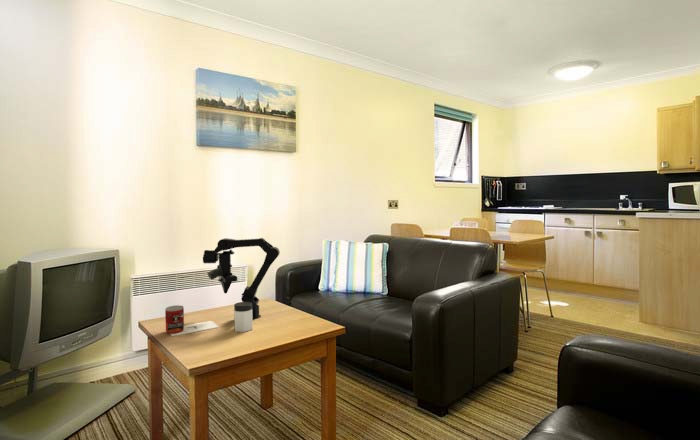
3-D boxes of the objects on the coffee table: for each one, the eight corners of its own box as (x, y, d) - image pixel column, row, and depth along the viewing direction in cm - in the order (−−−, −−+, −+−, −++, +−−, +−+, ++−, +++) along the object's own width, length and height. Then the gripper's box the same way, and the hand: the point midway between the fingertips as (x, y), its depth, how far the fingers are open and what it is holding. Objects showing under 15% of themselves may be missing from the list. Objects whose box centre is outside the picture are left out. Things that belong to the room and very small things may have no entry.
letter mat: (211, 321, 193) (211, 320, 193) (219, 327, 183) (219, 326, 183) (166, 329, 180) (166, 328, 180) (171, 336, 170) (171, 335, 170)
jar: (253, 331, 177) (253, 305, 177) (235, 333, 175) (234, 307, 174) (251, 325, 186) (251, 300, 185) (234, 327, 183) (233, 302, 183)
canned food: (166, 335, 171) (166, 310, 171) (164, 330, 178) (164, 306, 178) (185, 332, 175) (184, 308, 175) (182, 327, 182) (182, 304, 182)
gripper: (203, 262, 199) (203, 292, 200) (215, 266, 185) (215, 299, 185) (224, 260, 206) (225, 289, 207) (237, 264, 191) (238, 295, 192)
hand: (225, 293), depth 197 cm, fingers closed
